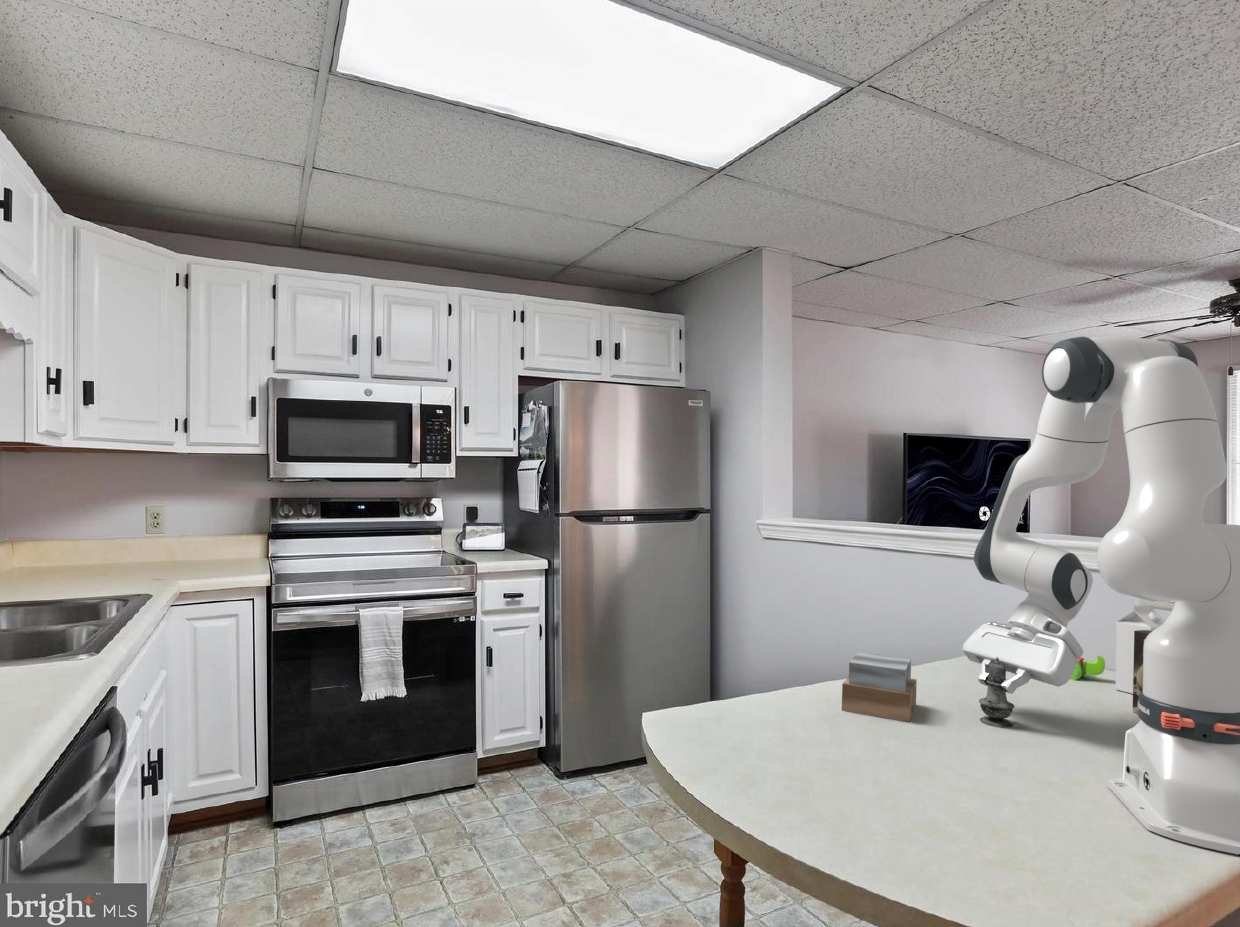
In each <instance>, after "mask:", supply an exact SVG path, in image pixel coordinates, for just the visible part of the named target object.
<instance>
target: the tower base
mask: <svg viewBox="0 0 1240 927" xmlns="http://www.w3.org/2000/svg"><path fill="white" fill-rule="evenodd" d="M848 667H849V668H848V676H847V677H846V678H845V680H844V681H843V682H842V684H841V685H842V686H841V690H842V691H841V711H843V710H845V711H844V712H850V713H856V714H861V715H866V714H869V715H868V716H872V715H874V716H873V717H878V716H879V718H883V717H884V718H885V719H890V720H895V721H896V720H897V721H901V720H902V721H901V722H906V723H909V722H910V721H911V720H912V716H913V714H914V711H915V709H916V706H917V681H918V680H917V679H916V678H912V677H911V674H912V659H911V658H905V657H904V658H903V657H899V656H898V657H896V656H891V655H890V656H888V655H882V654H875V653H874V654H873V653H867V652H860V651H858V652H857V653H856V654H855V655H854V656H853V658H851V659H850V661H849V664H848Z"/></svg>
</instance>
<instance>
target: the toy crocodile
mask: <svg viewBox="0 0 1240 927" xmlns="http://www.w3.org/2000/svg"><path fill="white" fill-rule="evenodd" d="M1096 659H1097V660H1095V661H1092V660H1088V659H1086V660H1085V658H1083V657H1082V656H1081V657H1080V658H1078V659H1077V666H1076V668H1075V670H1074V672H1073V674H1072V676H1071V677H1070V679H1069V680H1072V681H1077V680H1079V679H1080V678H1081V677H1083V676H1085V675H1087V676H1099V675H1101V674H1103V672H1104V670H1105V667H1106V660H1105V659H1104V657H1103V656H1101V655H1100V654H1099V653H1096Z"/></svg>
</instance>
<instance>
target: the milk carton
mask: <svg viewBox="0 0 1240 927" xmlns="http://www.w3.org/2000/svg"><path fill="white" fill-rule="evenodd" d="M1154 606H1155V605H1154V604H1145V605H1144V604H1143V605H1141V604H1140V605H1133V607H1132V610H1133V611H1131V612H1130V613H1127V614H1126V615H1125V616H1123V617H1121V618H1120V619H1119V620H1117V621H1116V630H1115V631H1116V632H1115V635H1116V638H1115V639H1116V640H1115V683H1114V684H1115V686H1114V688H1115V690H1116V691H1121V692H1124V693H1127V694H1130V695H1133V667H1134V631H1137V630H1150V631H1152V630H1155V629H1156V628H1158V627H1159V626H1161V625H1162V624H1163V623H1164V622H1165V621H1166V620H1165V619H1164V618H1163V617H1162V616H1161V615H1160V614H1159V613H1158V612H1157V611H1156V610H1155V608H1154Z"/></svg>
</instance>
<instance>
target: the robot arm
mask: <svg viewBox="0 0 1240 927" xmlns="http://www.w3.org/2000/svg"><path fill="white" fill-rule="evenodd" d="M1041 369H1042V370H1041V378H1042V382H1043V385H1044V387H1045V389H1046V391H1047V394H1046V396H1045V399H1044V401H1043V404H1042V407H1041V411H1040V414H1039V417H1038V423H1037V426H1036V427H1037V428H1036V433H1035V437H1034V440H1033V442H1032V444H1031V446H1030V447H1029V449H1028V450H1027V452H1026V453H1024V454H1021V455H1018V456H1017V457H1015V458H1014V459H1013V461H1012V462H1011V464H1010V466H1009V467H1008V470H1007V471H1006V473H1005V476H1004V478H1003V482H1002V484H1001V486H1000V489H999V491H998V495H997V497H996V500H995V503H994V505H993V508H992V511H991V514H990V516H989V520H988V522H987V525H986V528H985V530H984V532H983V534H982V536H981V538H980V539H979V541H978V543H977V545H976V548H975V550H974V553H973V561H974V565H975V568H976V569H977V571H978V573H979V574H980V575H981V577H982V578H983V579H984V580H987V581H990V582H993V583H997V584H1002V585H1006V586H1009V587H1012V588H1015V589H1017V590H1020V591H1023V592H1026V593H1027V596H1026V597H1025V599H1024V600H1023V601H1021V602H1020V603H1019V604H1018V606H1016V608H1015V609H1014V611H1013V613H1011V615H1010V617H1009V618H1008V619H1007V621H1006V622H1005V623H999V622H996V621H990V622H988V623H983V624H982V625H981V626H979V627H978V628H977V629H976V630H975V631H974V632H972V633H971V634H970V636H968V638H967V639H966V640H965V642H964V643H963V644H962V652H963V654H964V655H965V656H966V657H967V658H968V660H969V661H971V662H974V663H976V664H980V665H981V673H980V674H979V675H978V677H977V680H978V682H979V683H980V684H981V685H983V686H986V687H988V683H987V682H986V680H988V666H989V664H990V663H992V662H994V661H996V660H995V659H996V658H997V657H998V658H999V662H1000V663H1002V664H1004V665H1005V667H1006V673H1011V674H1014V676H1013V677H1011V678H1010V679H1005V680H1004V683H1002V685H1001V688H1002V689H1003V691H1005V692H1006V694H1011V695H1013V694H1014V693H1015V692H1016V691H1017V689H1018V688H1020V687H1022V686H1023V685H1025V684H1028V683H1030V682H1029V681H1030V680H1034V681H1038V682H1040V683H1043V684H1044V683H1045V684H1047V685H1051V686H1055V687H1061V686H1063V685H1066V684H1067V683H1068V682H1069V680H1071V679H1070V677H1071V676H1072V674H1073V672H1074V670H1075V668H1076V666H1077V659H1078V658H1080V657H1082V656H1083V654H1084V650H1083V648H1082V647H1081V645H1080V643H1079V641H1078V640H1077V638H1076V637H1075V636H1074V634H1072V632H1071V630H1069V629H1068V625H1069V624H1070V622H1071V621H1073V620H1074V619H1076V617H1077V616H1078V614H1079V613H1080V612H1081V609H1082V608H1083V606H1084V604H1085V602H1086V601H1087V598H1088V596H1089V594H1090V592H1091V589H1092V586H1093V584H1094V583H1093V582H1094V579H1093V574H1092V572H1091V571H1090V569H1088V567H1087V566H1086V565H1084V564H1083V563H1082V562H1081V560H1080V559H1079V557H1078V555H1076V554H1074V553H1072V552H1070V551H1068V550H1066V549H1062V548H1058V547H1056V546H1052V545H1049V544H1043V543H1041V542H1037V541H1034V540H1030V539H1028V538H1024V537H1021V536H1020V535H1019V534H1018V533H1017V527H1018V525H1019V522H1020V519H1021V517H1022V514H1023V511H1024V508H1025V506H1026V503H1027V501H1028V498H1029V497H1030V495H1031V494H1032V493H1033V492H1034V491H1036V490H1038V489H1042V488H1050V487H1057V486H1067V485H1073V484H1076V483H1077V484H1078V483H1079V482H1083V481H1085V480H1087V479H1089V478H1091V477H1092V476H1094V475H1095V474H1096V473H1098V471H1099V470H1100V469H1101V468H1102V466H1103V463H1104V461H1105V459H1106V455H1107V452H1108V446H1109V443H1110V442H1109V441H1110V435H1111V431H1112V421H1113V418H1114V415H1115V413H1116V412H1117V411H1118V410H1119V409H1120V414H1121V418H1122V427H1123V435H1124V441H1125V442H1124V443H1125V447H1126V454H1127V464H1128V472H1129V492H1128V493H1129V494H1128V498H1127V503H1126V506H1125V509H1124V511H1123V513H1122V515H1121V517H1120V519H1119V520H1118V522H1117V523H1116V525H1115V526H1114V527H1112V528H1111V529H1110V530H1109V531H1107V532H1106V533H1105V534H1104V536H1103V537H1102V539H1101V540H1100V543H1099V544H1098V548H1097V551H1096V564H1097V567H1098V568H1097V569H1098V571H1099V574H1100V576H1101V578H1102V579H1103V581H1104V582H1105V584H1106V585H1107V586H1109V587H1110V589H1112V590H1113V591H1115V592H1116V593H1119V594H1121V595H1126V596H1129V597H1133V598H1137V599H1143V600H1146V601H1153V602H1174V605H1173V608H1172V610H1171V612H1170V614H1169V615H1168V616H1167V618H1166V620H1165V622H1164V623H1163V624H1162V625H1161V626H1159V627H1158V628H1156V629H1155V630H1153V631H1152V632H1151V633H1150V634H1149V635H1148V636H1147V637H1146V639H1145V642H1144V646H1143V691H1142V692H1140V693H1139V700H1138V713H1137V716H1138V718H1139V721H1138V722H1137V724H1135V725H1134V726H1133V727H1130V728H1129V729H1128V730H1126V731H1125V738H1124V750H1123V764H1122V765H1123V766H1122V767H1123V768H1122V777H1116V778H1115V777H1114V778H1110V779H1109V780H1108V784H1107V785H1108V788H1109V789H1110V791H1111V792H1113V794H1114V795H1115V796H1116V797H1117V798H1118V799H1119V800H1120V801H1121V802H1122V803H1123V805H1124V806H1125V807H1126V808H1127V809H1128V810H1129V812H1131V814H1133V816H1134V817H1135V818H1136V819H1137V820H1138V822H1140V823H1141V824H1142V825H1143V826H1144V827H1145V829H1147V830H1148V831H1150V832H1152V833H1155V834H1158V835H1161V836H1163V837H1165V838H1166V837H1167V838H1170V839H1171V840H1172V839H1173V840H1176V841H1179V842H1182V843H1186V844H1190V845H1193V846H1198V847H1201V848H1206V849H1211V850H1215V851H1219V852H1224V853H1228V854H1234V855H1239V854H1240V524H1239V525H1238V524H1227V523H1226V524H1225V523H1205V522H1204V508H1205V505H1206V504H1205V503H1206V501H1207V498H1208V496H1209V495H1210V493H1212V492H1214V491H1215V490H1216V489H1218V488H1220V486H1221V485H1223V483H1224V482H1225V481H1226V479H1227V476H1228V467H1227V462H1226V461H1227V460H1226V457H1225V451H1224V446H1223V442H1222V437H1221V431H1220V427H1219V422H1218V418H1217V413H1216V409H1215V405H1214V402H1213V401H1214V400H1213V398H1212V396H1211V393H1210V390H1209V387H1208V385H1207V383H1206V380H1205V377H1204V376H1203V374H1202V372H1201V370H1200V367H1199V364H1198V359H1197V356H1196V354H1195V352H1194V351H1193V349H1191V348H1190V347H1189V346H1188V345H1185V344H1184V343H1181V342H1177V341H1174V340H1170V339H1163V338H1162V339H1161V338H1160V339H1159V338H1158V339H1150V338H1141V337H1140V338H1139V337H1127V336H1124V335H1114V336H1113V335H1112V336H1111V335H1110V336H1094V337H1087V336H1077V337H1072V338H1065V339H1062V340H1060V341H1058V342H1055V344H1053V346H1052V347H1051V348H1049V351H1048V352H1047V354H1046V355H1045V356H1044V360H1043V362H1042V367H1041Z"/></svg>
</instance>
